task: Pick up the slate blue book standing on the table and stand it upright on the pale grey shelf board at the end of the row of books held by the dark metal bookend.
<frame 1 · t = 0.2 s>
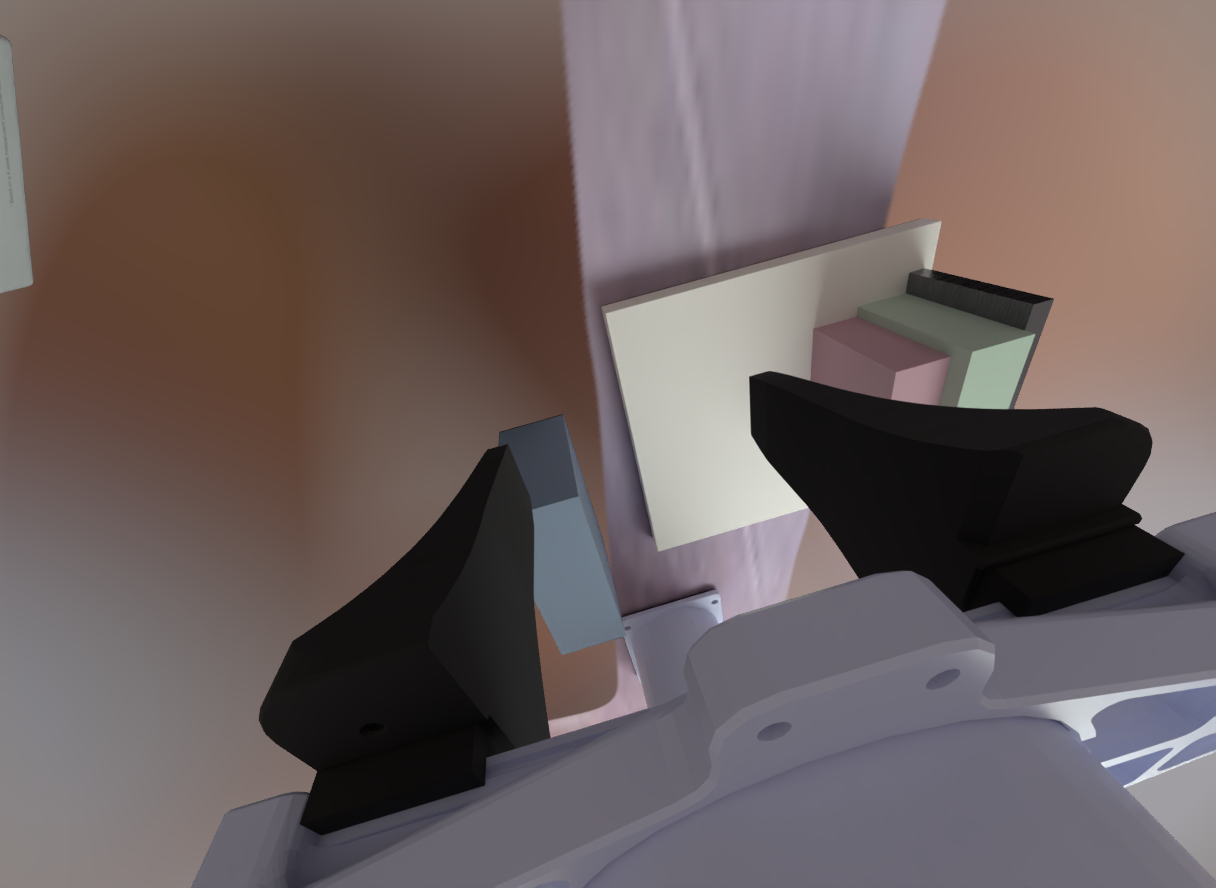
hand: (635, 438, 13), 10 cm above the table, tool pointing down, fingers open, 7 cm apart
slate book: (557, 492, 26), on the table
bookend: (940, 404, 22), on the shelf board, point 4 cm above the table
books: (891, 421, 21), on the shelf board, point 4 cm above the table
shelf board: (764, 405, 25), on the table
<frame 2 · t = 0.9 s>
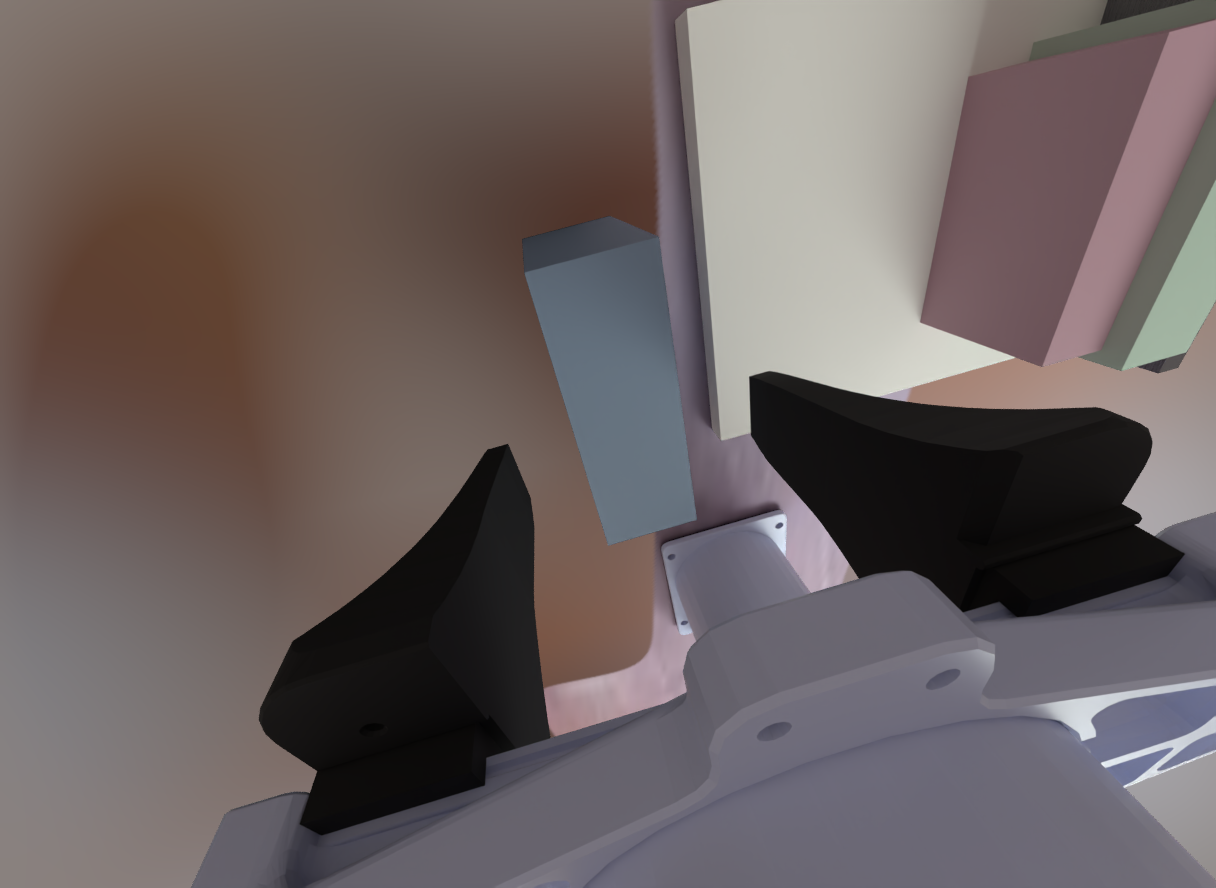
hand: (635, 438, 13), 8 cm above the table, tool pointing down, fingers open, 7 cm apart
slate book: (595, 347, 19), on the table
bookend: (1146, 186, 15), on the shelf board, point 4 cm above the table
books: (1080, 206, 15), on the shelf board, point 4 cm above the table
shelf board: (874, 226, 19), on the table
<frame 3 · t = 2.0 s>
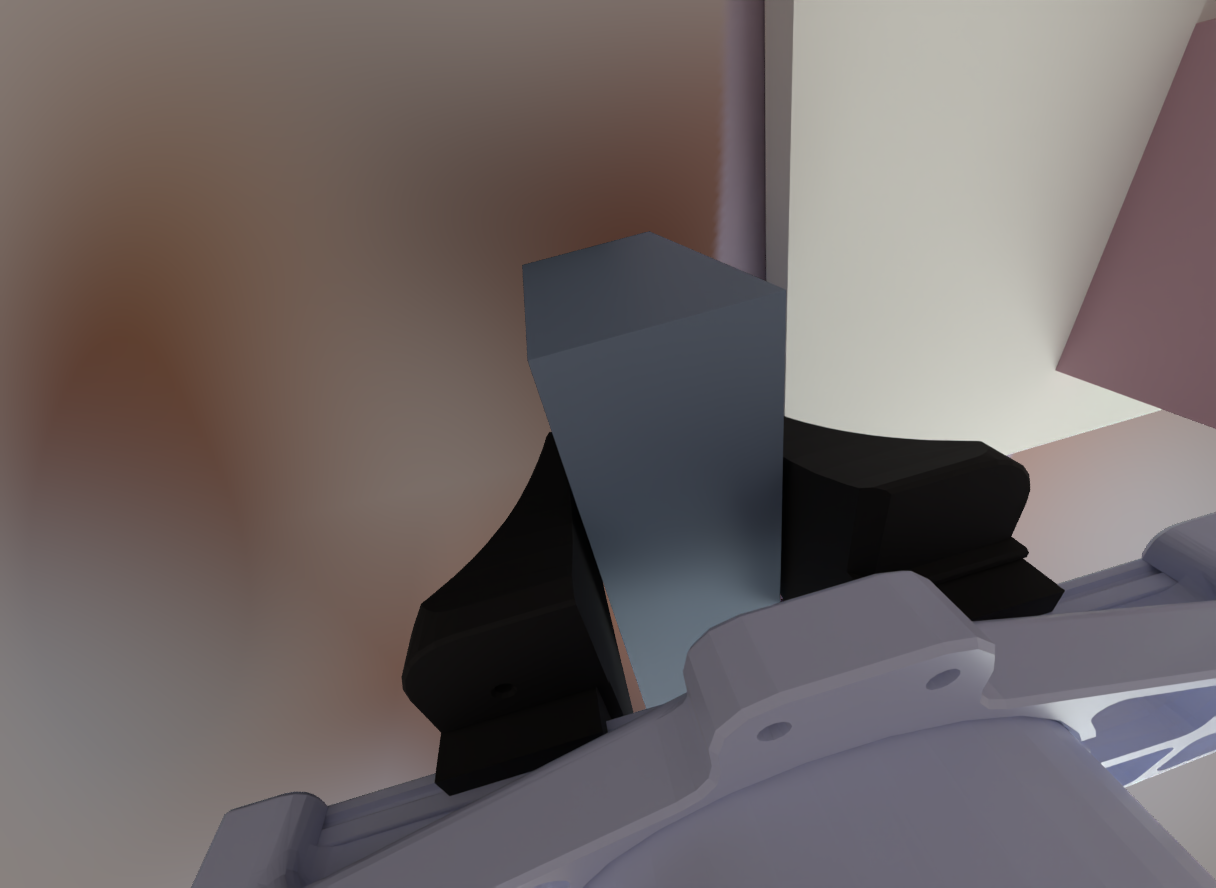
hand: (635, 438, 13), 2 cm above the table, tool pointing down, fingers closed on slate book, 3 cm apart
slate book: (621, 408, 14), on the table, touching gripper
shelf board: (1008, 243, 13), on the table
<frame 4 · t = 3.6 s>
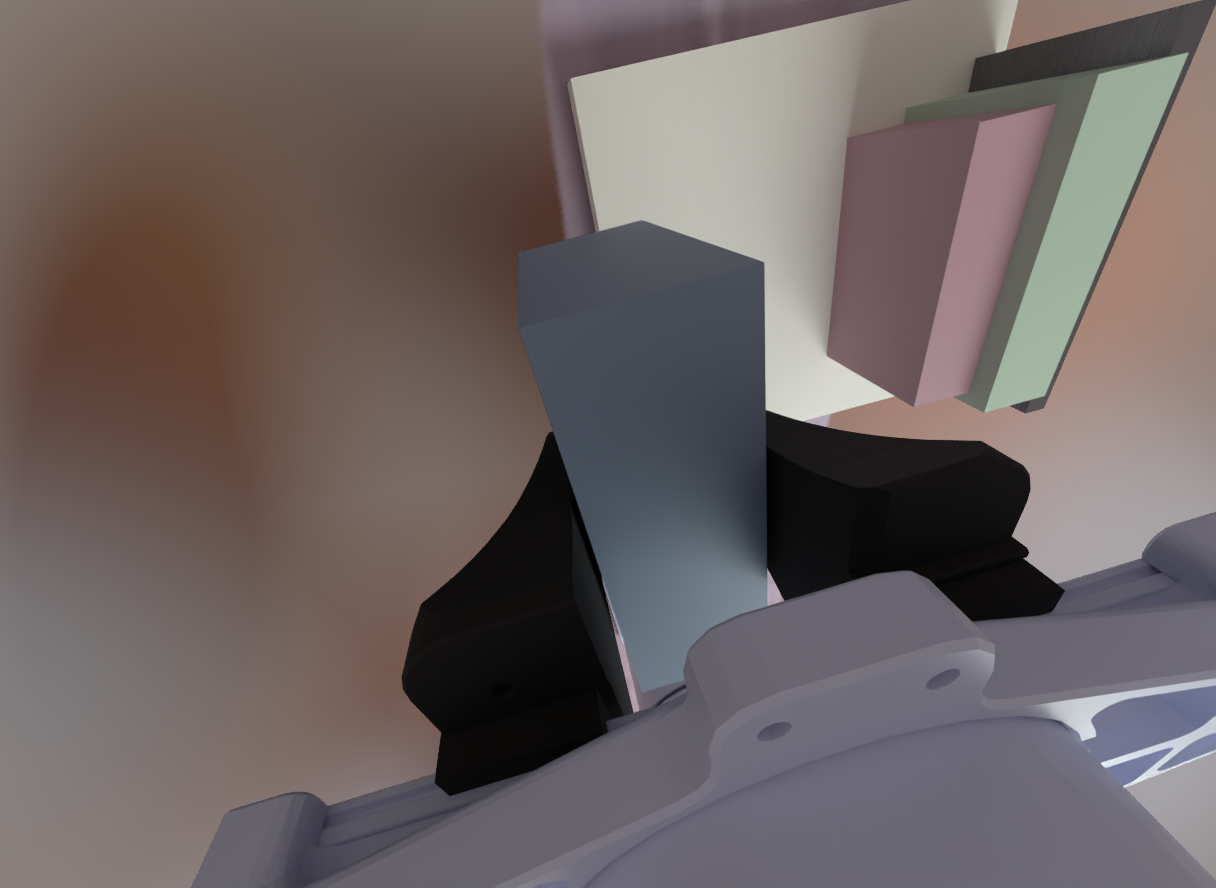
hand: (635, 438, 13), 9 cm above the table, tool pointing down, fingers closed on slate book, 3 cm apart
slate book: (616, 395, 14), point 6 cm above the table, touching gripper
bookend: (1011, 241, 17), on the shelf board, point 4 cm above the table
books: (947, 260, 16), on the shelf board, point 4 cm above the table
shelf board: (778, 267, 20), on the table
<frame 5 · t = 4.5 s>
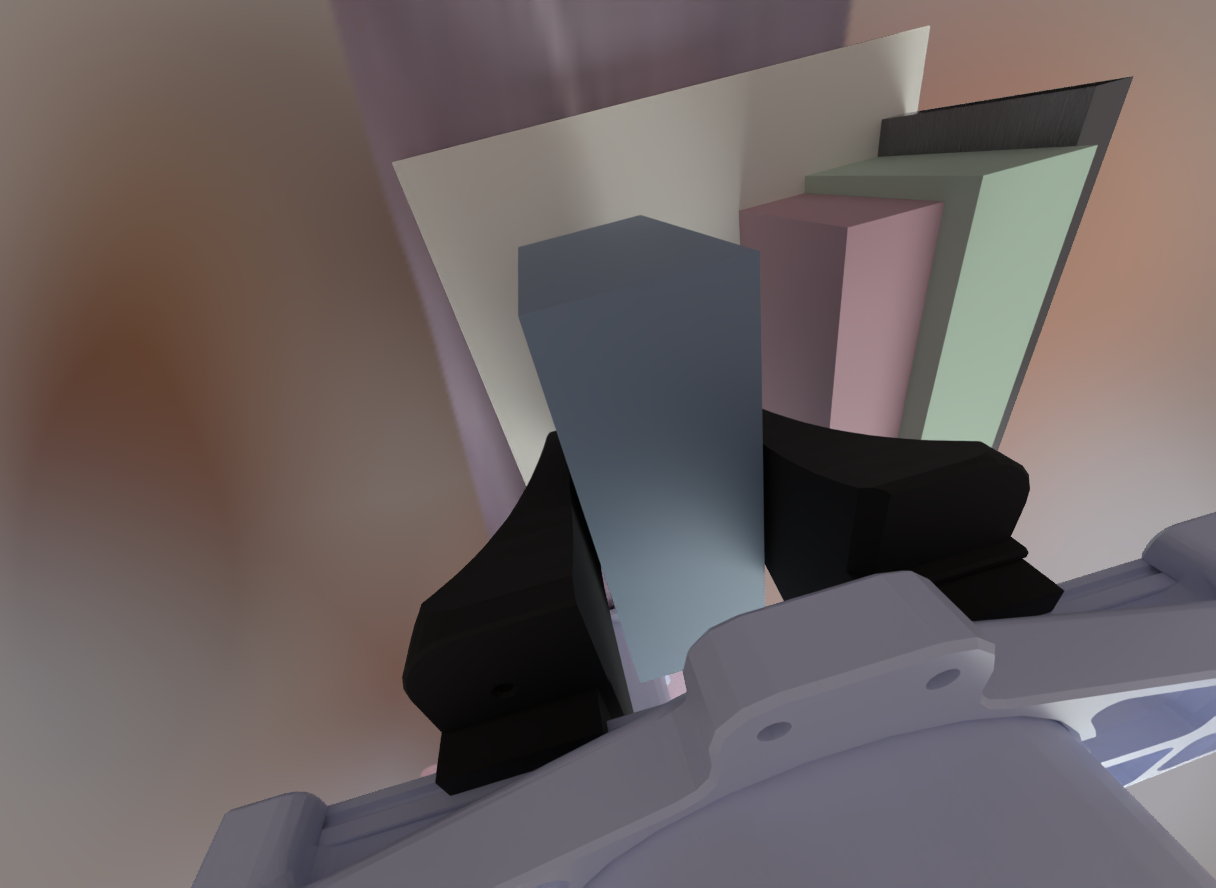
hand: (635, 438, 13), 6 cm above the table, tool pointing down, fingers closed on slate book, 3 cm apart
slate book: (615, 390, 15), point 3 cm above the table, touching gripper
bookend: (931, 326, 14), on the shelf board, point 4 cm above the table
books: (856, 350, 14), on the shelf board, point 4 cm above the table
shelf board: (684, 342, 18), on the table
when the fingers open (5 cm above the table, at t = 5.1 s): slate book stays where it is, resting on shelf board.
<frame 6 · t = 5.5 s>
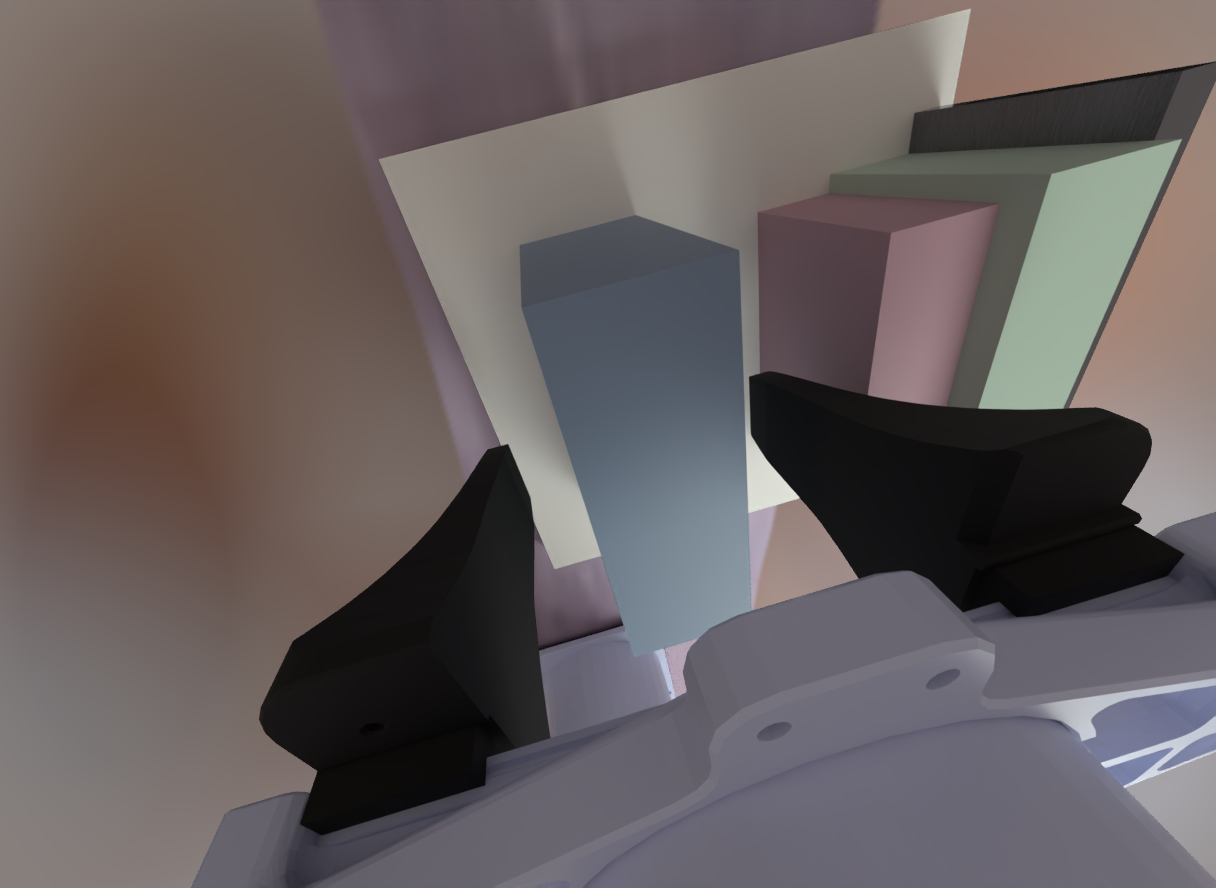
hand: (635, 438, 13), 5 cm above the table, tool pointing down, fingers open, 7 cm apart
slate book: (612, 382, 15), point 1 cm above the table, touching shelf board
bookend: (965, 337, 13), on the shelf board, point 4 cm above the table
books: (884, 364, 13), on the shelf board, point 4 cm above the table
shelf board: (695, 352, 16), on the table
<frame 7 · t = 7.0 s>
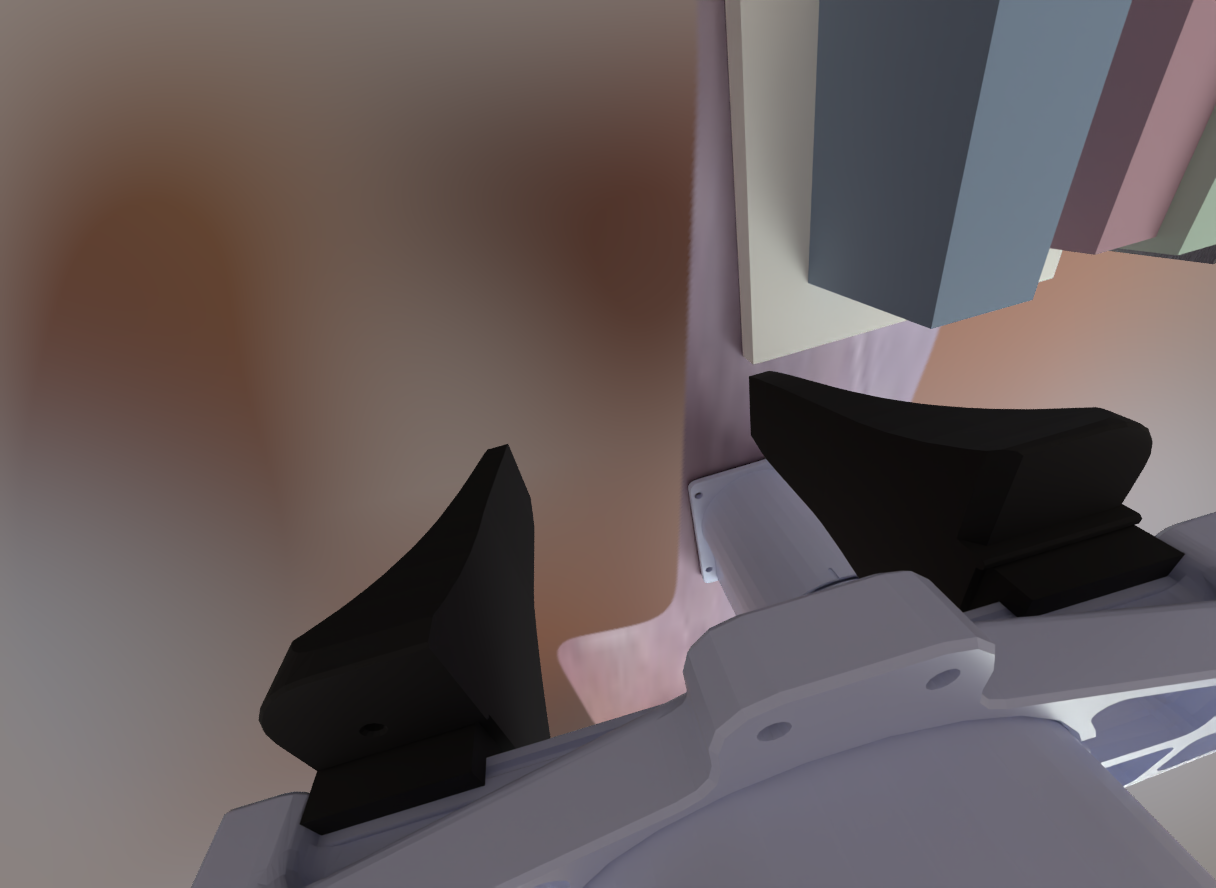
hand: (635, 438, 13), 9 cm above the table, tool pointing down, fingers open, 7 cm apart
slate book: (855, 142, 17), point 1 cm above the table, touching shelf board
bookend: (1202, 66, 15), on the shelf board, point 4 cm above the table
books: (1134, 86, 15), on the shelf board, point 4 cm above the table
shelf board: (913, 131, 18), on the table
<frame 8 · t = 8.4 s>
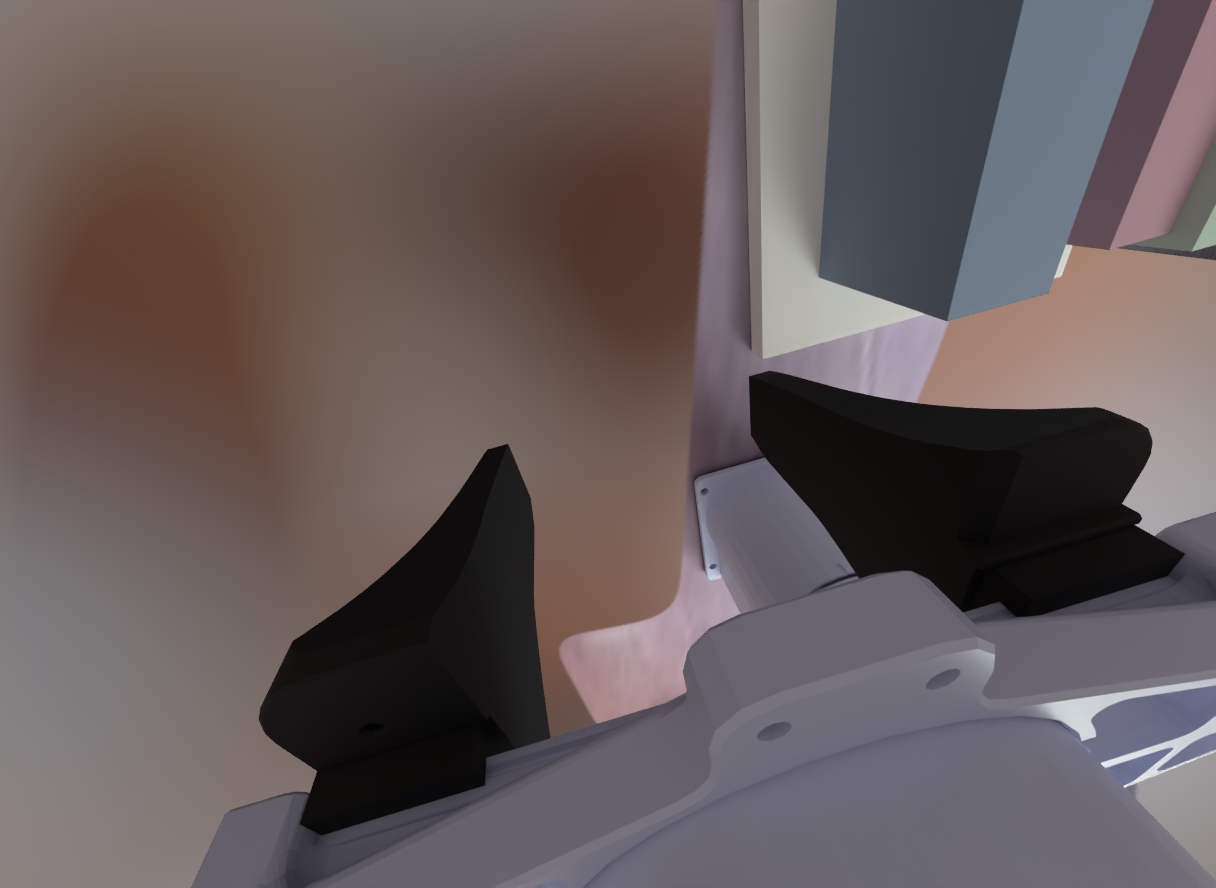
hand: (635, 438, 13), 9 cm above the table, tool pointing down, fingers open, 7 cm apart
slate book: (869, 136, 17), point 1 cm above the table, touching shelf board
books: (1150, 82, 15), on the shelf board, point 4 cm above the table
shelf board: (926, 126, 18), on the table
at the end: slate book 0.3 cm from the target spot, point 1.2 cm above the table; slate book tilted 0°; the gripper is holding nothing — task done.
